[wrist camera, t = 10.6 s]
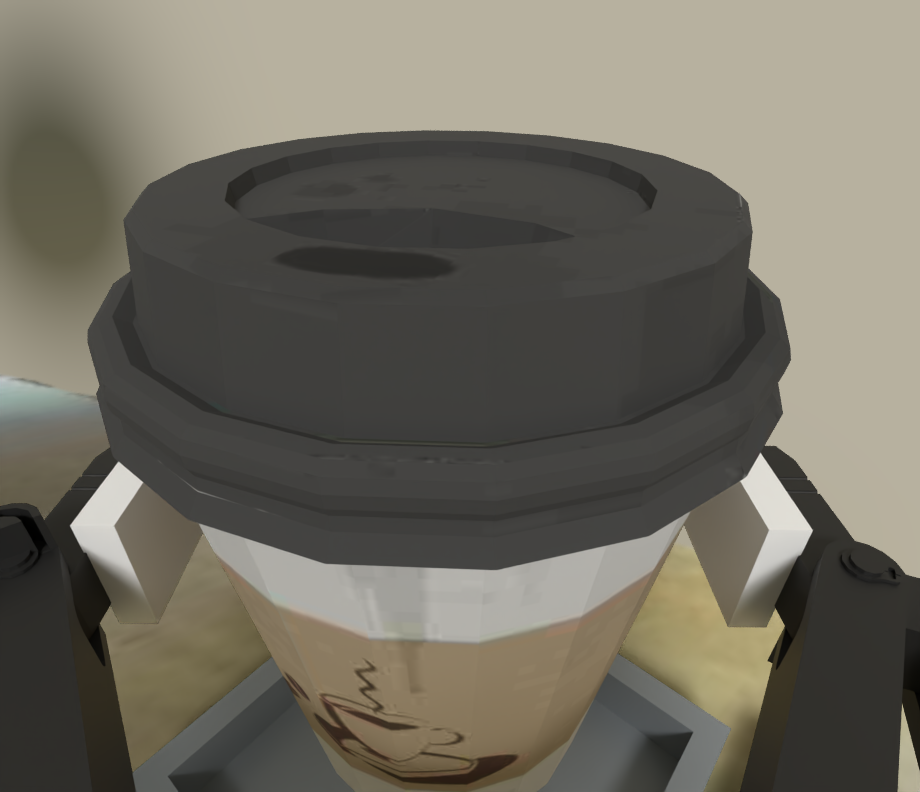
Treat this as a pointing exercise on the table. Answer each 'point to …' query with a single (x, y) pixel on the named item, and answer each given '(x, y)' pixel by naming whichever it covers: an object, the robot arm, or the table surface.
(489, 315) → the coffee cup
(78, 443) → the table surface
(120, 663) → the table surface
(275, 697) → the tray
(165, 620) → the table surface
